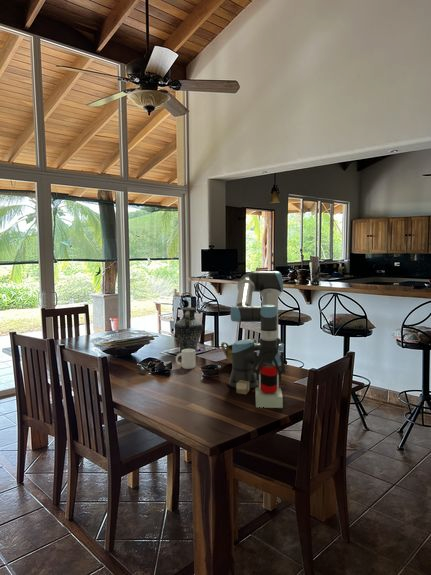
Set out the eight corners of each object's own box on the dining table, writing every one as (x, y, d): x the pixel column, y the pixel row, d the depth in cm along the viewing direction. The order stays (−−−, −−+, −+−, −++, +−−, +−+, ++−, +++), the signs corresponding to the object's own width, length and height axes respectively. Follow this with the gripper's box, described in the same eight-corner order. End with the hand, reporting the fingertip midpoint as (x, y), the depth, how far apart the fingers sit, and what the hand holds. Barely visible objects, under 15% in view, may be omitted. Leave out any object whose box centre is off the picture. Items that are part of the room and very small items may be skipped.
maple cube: (245, 394, 210) (245, 384, 210) (236, 393, 212) (236, 383, 212) (249, 391, 215) (249, 381, 214) (240, 389, 217) (239, 380, 216)
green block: (255, 407, 193) (255, 396, 193) (255, 397, 205) (255, 387, 205) (282, 407, 192) (282, 397, 192) (280, 398, 204) (280, 388, 204)
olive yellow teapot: (249, 359, 272) (249, 335, 271) (261, 366, 257) (261, 341, 255) (217, 363, 264) (216, 339, 263) (227, 370, 249) (227, 345, 247)
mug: (177, 370, 250) (176, 353, 249) (174, 366, 258) (174, 349, 257) (196, 368, 254) (196, 351, 253) (193, 364, 262) (193, 348, 260)
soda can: (263, 387, 203) (263, 362, 202) (278, 389, 200) (278, 364, 199) (258, 392, 196) (258, 366, 195) (274, 394, 193) (274, 368, 192)
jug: (174, 348, 302) (173, 306, 299) (202, 347, 304) (201, 305, 301) (175, 355, 282) (174, 311, 278) (204, 354, 284) (203, 310, 280)
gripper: (246, 340, 193) (246, 389, 195) (292, 340, 191) (291, 390, 194) (246, 336, 200) (246, 384, 203) (290, 337, 199) (290, 384, 201)
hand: (268, 387), depth 198 cm, fingers closed on soda can, 7 cm apart
